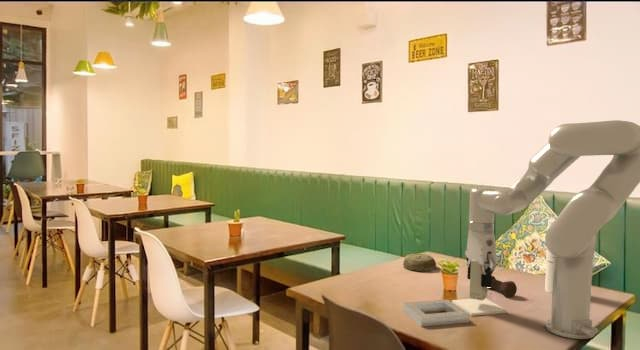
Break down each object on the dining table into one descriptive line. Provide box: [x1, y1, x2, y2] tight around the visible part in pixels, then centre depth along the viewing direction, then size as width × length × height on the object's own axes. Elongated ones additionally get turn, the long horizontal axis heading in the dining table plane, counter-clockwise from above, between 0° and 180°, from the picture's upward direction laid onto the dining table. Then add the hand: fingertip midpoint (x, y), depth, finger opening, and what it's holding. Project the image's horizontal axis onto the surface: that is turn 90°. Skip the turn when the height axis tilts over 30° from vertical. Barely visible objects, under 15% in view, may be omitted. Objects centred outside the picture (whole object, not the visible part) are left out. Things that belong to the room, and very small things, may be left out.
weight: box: [402, 253, 437, 272], centre depth 200 cm, size 14×13×5 cm
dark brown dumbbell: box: [490, 275, 518, 298], centre depth 171 cm, size 6×5×15 cm
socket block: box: [402, 298, 470, 327], centre depth 145 cm, size 13×15×2 cm
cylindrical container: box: [544, 218, 556, 294], centre depth 169 cm, size 7×7×25 cm
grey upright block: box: [468, 259, 488, 301], centre depth 152 cm, size 6×4×12 cm
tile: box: [451, 297, 508, 317], centre depth 153 cm, size 12×12×1 cm
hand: (478, 282), depth 153 cm, fingers closed on grey upright block, 7 cm apart
